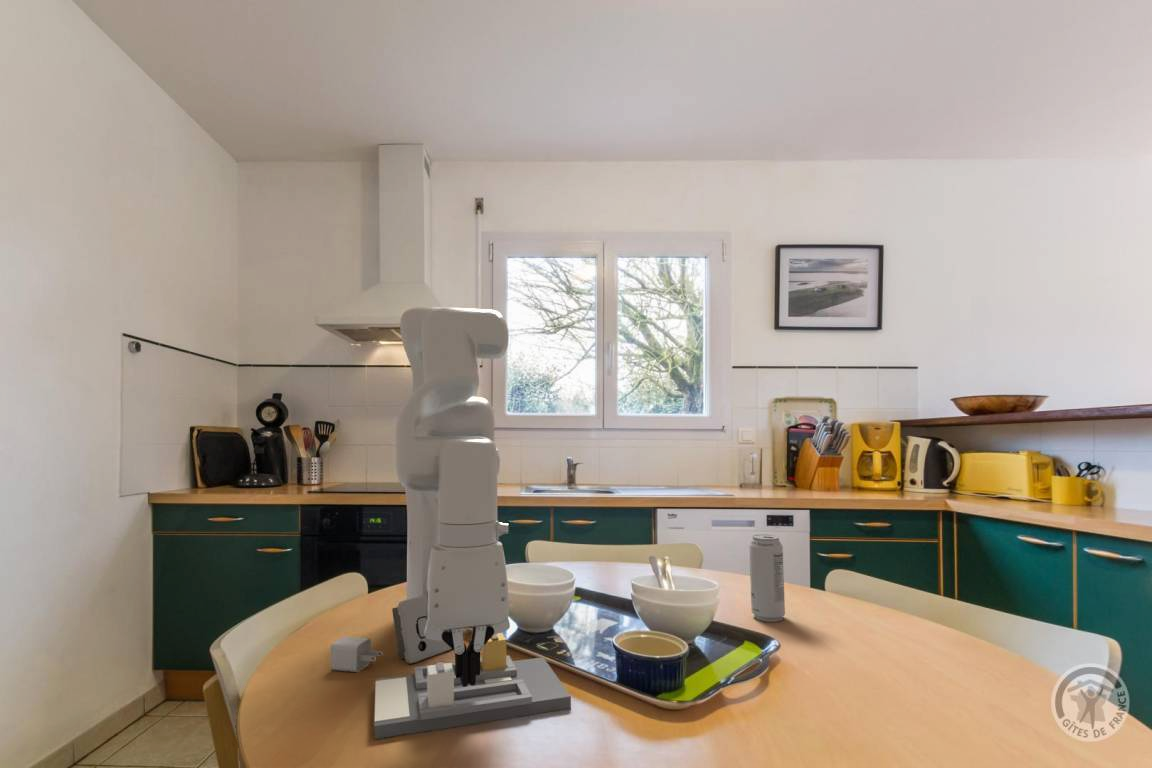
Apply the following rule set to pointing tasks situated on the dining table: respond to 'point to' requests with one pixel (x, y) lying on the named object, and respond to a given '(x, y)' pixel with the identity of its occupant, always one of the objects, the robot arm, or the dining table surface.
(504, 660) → the yellow block with tab
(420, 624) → the electrical switch
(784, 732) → the dining table surface
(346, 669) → the usb wall charger
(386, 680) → the switch board
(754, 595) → the energy drink can
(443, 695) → the white tab
